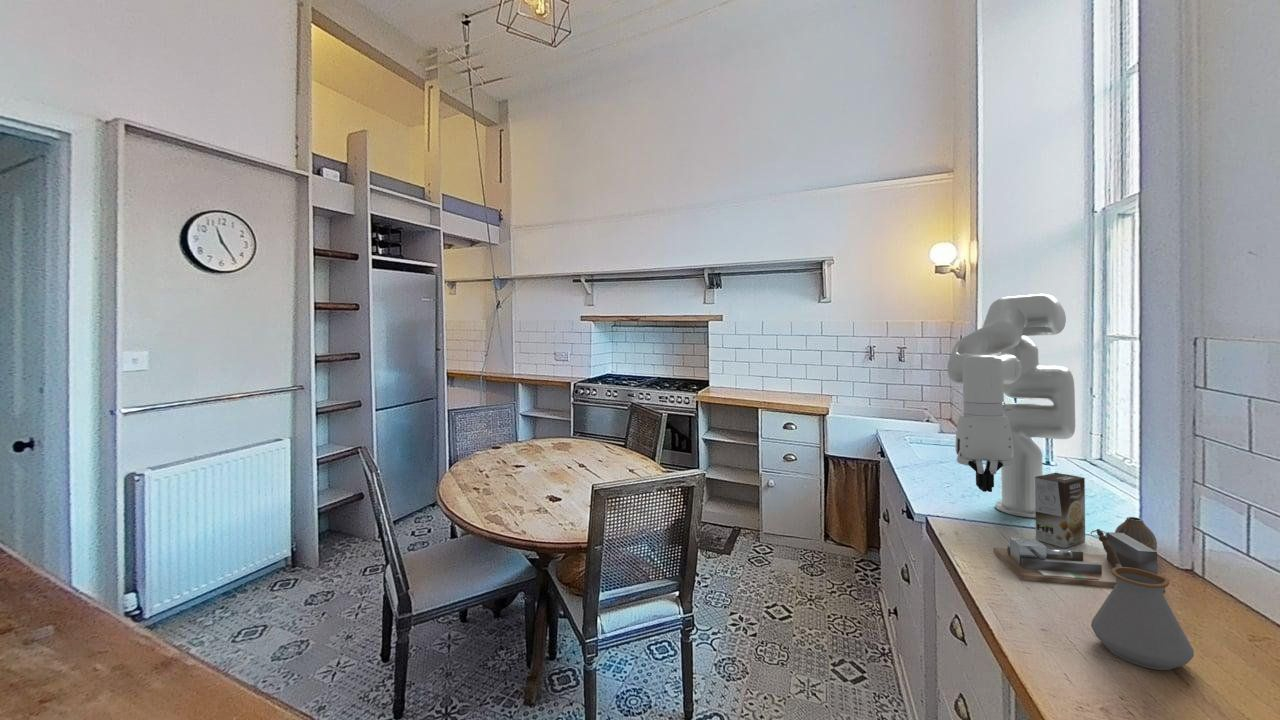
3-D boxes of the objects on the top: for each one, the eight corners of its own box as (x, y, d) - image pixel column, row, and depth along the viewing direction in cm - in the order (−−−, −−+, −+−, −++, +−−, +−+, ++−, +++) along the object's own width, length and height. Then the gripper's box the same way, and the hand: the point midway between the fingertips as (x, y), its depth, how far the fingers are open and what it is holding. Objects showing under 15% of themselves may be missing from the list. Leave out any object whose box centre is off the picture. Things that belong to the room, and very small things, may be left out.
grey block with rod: (1029, 574, 102) (1029, 553, 102) (1010, 556, 110) (1010, 537, 110) (1091, 578, 99) (1091, 557, 99) (1067, 560, 107) (1066, 540, 107)
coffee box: (1065, 549, 115) (1064, 482, 115) (1034, 539, 121) (1033, 476, 121) (1086, 541, 119) (1085, 477, 119) (1055, 532, 125) (1054, 471, 124)
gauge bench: (1022, 579, 102) (1021, 547, 102) (993, 551, 116) (993, 523, 115) (1165, 591, 95) (1164, 556, 95) (1117, 560, 109) (1116, 529, 109)
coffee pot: (1213, 687, 70) (1212, 585, 69) (1108, 667, 75) (1107, 572, 74) (1139, 611, 89) (1138, 531, 89) (1060, 599, 94) (1058, 524, 94)
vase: (1166, 563, 106) (1165, 524, 106) (1129, 562, 108) (1128, 523, 107) (1140, 550, 113) (1140, 513, 113) (1106, 549, 114) (1105, 512, 114)
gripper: (1014, 407, 110) (1015, 486, 111) (940, 407, 115) (942, 484, 115) (1030, 412, 103) (1032, 496, 104) (951, 412, 107) (953, 493, 108)
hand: (985, 489), depth 109 cm, fingers closed
